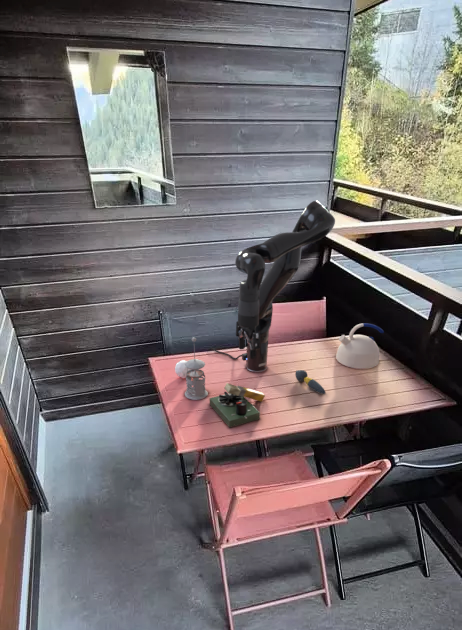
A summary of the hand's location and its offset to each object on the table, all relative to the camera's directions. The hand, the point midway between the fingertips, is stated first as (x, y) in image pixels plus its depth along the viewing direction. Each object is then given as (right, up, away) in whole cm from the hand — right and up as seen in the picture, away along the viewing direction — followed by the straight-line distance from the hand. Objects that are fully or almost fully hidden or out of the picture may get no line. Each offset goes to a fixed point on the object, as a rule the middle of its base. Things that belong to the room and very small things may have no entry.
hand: (247, 353), depth 166 cm
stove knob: (-2, -22, +2) cm, 22 cm away
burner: (-6, -17, +9) cm, 20 cm away
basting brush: (-1, -15, +10) cm, 18 cm away
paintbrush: (+28, -9, +25) cm, 39 cm away
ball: (-27, -5, +31) cm, 41 cm away
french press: (-21, -13, +19) cm, 32 cm away
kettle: (+54, +6, +46) cm, 72 cm away
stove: (-5, -21, +8) cm, 23 cm away
